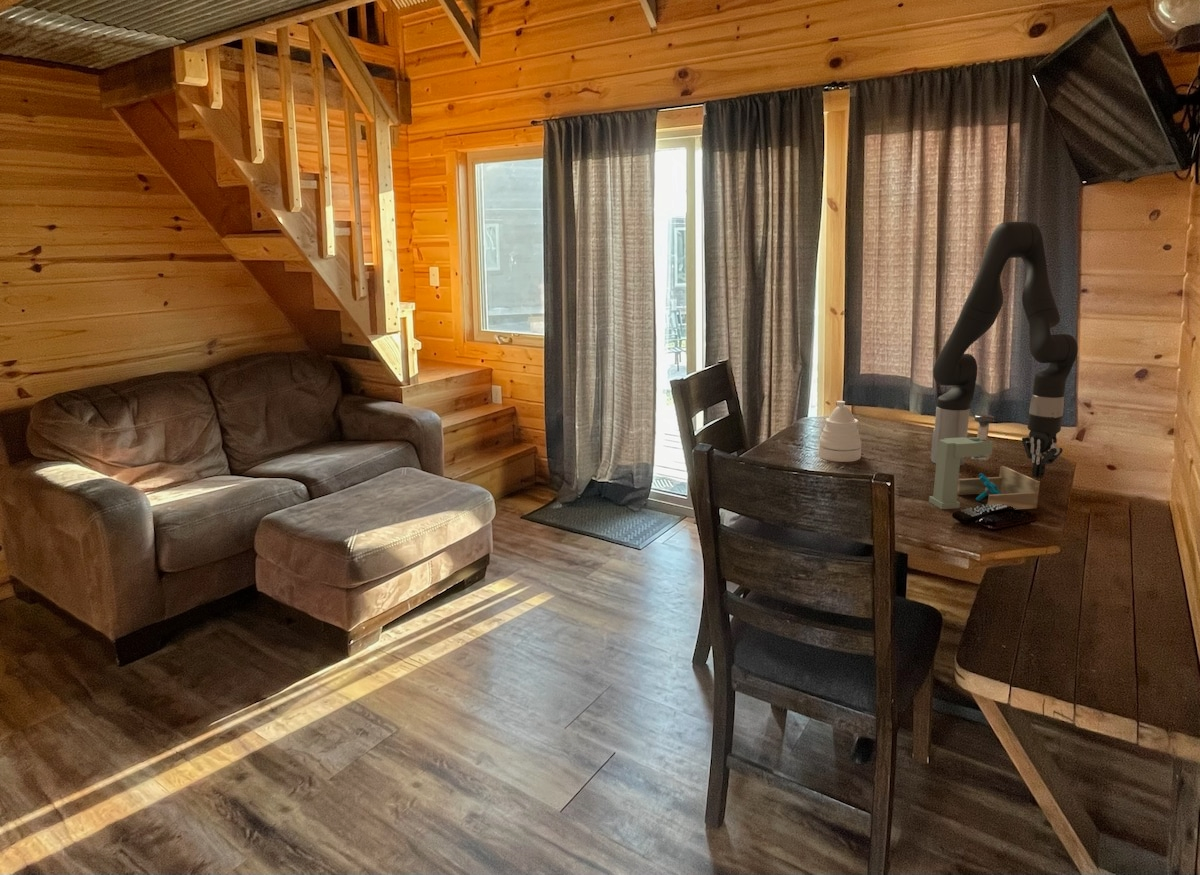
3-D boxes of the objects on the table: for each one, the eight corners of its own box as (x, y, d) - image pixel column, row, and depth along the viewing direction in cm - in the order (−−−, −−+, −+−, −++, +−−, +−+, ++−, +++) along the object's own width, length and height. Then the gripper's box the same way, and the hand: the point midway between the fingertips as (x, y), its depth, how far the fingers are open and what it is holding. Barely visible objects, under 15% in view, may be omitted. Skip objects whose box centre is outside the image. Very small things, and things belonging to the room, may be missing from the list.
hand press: (928, 501, 210) (934, 438, 206) (973, 498, 212) (980, 436, 207) (941, 509, 204) (947, 444, 200) (987, 506, 206) (994, 442, 202)
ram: (966, 456, 207) (971, 414, 205) (982, 456, 208) (987, 413, 205) (977, 461, 203) (981, 418, 200) (993, 460, 204) (997, 417, 201)
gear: (1009, 504, 202) (982, 473, 204) (989, 518, 204) (962, 487, 207) (1010, 497, 212) (983, 468, 214) (990, 511, 214) (964, 481, 216)
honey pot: (853, 464, 245) (857, 406, 240) (812, 458, 252) (815, 402, 247) (865, 454, 255) (869, 398, 251) (825, 449, 262) (828, 394, 258)
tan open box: (956, 493, 215) (959, 468, 213) (1001, 490, 217) (1004, 465, 215) (989, 511, 201) (992, 484, 200) (1036, 508, 203) (1040, 481, 201)
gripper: (1015, 407, 211) (1008, 471, 215) (1050, 418, 198) (1041, 485, 203) (1041, 406, 212) (1033, 469, 216) (1077, 417, 199) (1068, 484, 204)
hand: (1037, 477), depth 209 cm, fingers closed
